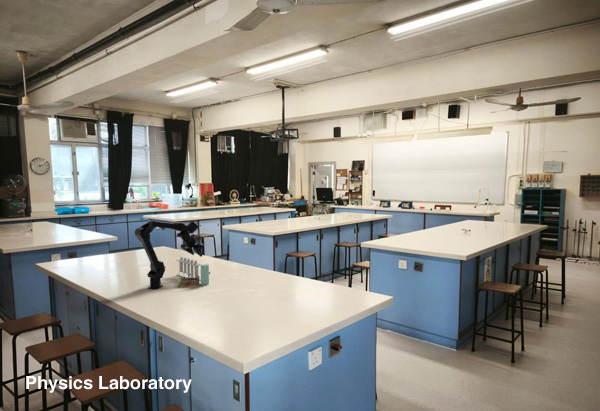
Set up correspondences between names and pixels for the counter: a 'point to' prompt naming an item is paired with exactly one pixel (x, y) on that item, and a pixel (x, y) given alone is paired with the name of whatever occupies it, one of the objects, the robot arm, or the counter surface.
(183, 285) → the track board
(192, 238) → the robot arm
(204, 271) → the mint green tall box
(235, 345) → the counter surface
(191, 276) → the test tube rack
